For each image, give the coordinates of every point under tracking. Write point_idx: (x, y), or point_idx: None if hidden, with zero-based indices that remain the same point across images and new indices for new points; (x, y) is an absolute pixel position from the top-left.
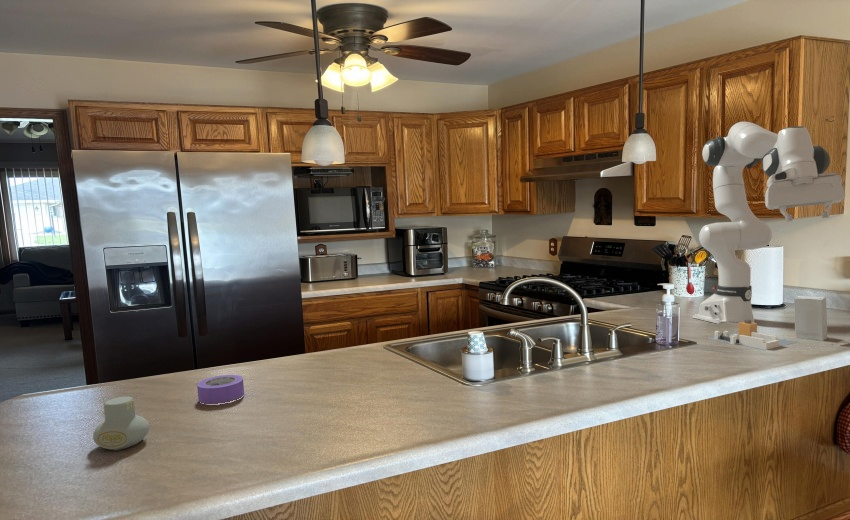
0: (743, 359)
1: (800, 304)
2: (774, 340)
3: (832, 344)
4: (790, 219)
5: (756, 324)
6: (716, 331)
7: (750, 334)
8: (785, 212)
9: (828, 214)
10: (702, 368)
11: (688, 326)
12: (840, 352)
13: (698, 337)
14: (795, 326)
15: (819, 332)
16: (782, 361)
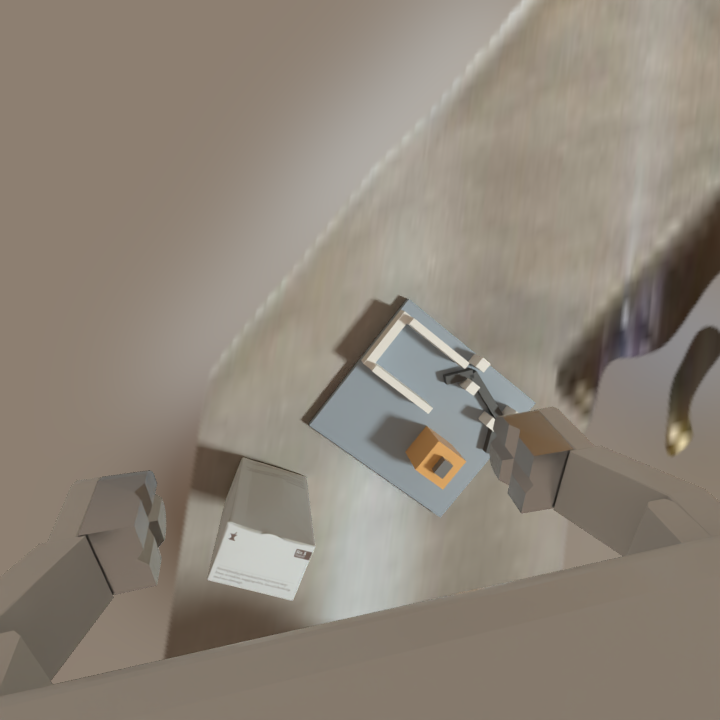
0: (464, 217)
1: (296, 528)
2: (378, 354)
3: (219, 457)
4: (521, 414)
5: (416, 465)
6: None
7: (427, 433)
8: (626, 463)
9: (79, 494)
10: (573, 89)
11: None
12: (214, 366)
13: None
14: (307, 495)
15: (248, 471)
16: (372, 220)
